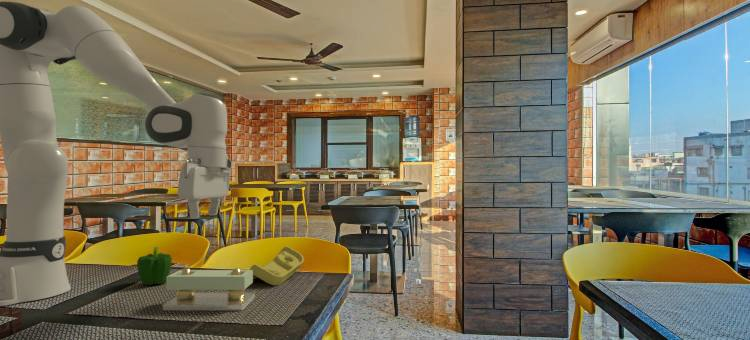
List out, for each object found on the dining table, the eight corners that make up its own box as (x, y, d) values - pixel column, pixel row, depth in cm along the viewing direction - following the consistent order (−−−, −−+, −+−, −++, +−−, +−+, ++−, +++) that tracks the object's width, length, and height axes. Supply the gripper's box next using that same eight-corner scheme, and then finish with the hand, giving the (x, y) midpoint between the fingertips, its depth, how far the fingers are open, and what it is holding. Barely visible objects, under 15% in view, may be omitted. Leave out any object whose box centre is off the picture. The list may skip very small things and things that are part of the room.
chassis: (162, 310, 87) (162, 273, 87) (182, 297, 96) (182, 264, 96) (242, 310, 87) (242, 274, 87) (254, 297, 96) (254, 264, 96)
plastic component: (280, 278, 105) (249, 261, 107) (270, 301, 106) (240, 284, 108) (309, 258, 124) (283, 243, 126) (300, 277, 125) (274, 262, 127)
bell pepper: (161, 287, 104) (161, 250, 104) (131, 287, 105) (131, 250, 105) (177, 279, 113) (177, 245, 113) (149, 279, 113) (150, 245, 113)
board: (252, 282, 95) (252, 270, 95) (244, 289, 89) (244, 276, 89) (179, 282, 95) (179, 270, 95) (166, 289, 89) (166, 276, 89)
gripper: (199, 157, 85) (197, 221, 84) (234, 162, 105) (232, 213, 105) (171, 157, 85) (168, 220, 84) (211, 162, 105) (209, 213, 105)
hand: (204, 216), depth 95 cm, fingers open, 8 cm apart
